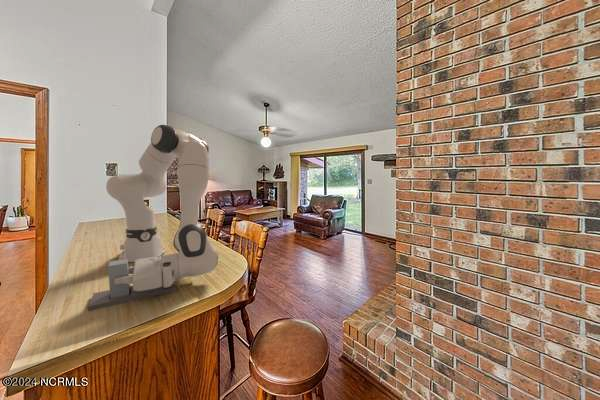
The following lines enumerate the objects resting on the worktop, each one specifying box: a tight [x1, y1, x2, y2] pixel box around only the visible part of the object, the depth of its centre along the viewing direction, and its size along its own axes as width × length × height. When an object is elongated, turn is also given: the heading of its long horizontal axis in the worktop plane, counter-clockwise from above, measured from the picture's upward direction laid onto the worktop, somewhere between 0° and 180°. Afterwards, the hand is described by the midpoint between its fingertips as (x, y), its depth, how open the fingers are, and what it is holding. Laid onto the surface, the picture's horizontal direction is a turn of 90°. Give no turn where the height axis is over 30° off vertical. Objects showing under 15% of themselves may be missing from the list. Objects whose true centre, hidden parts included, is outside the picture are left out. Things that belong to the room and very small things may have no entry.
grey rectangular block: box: [107, 259, 131, 299], centre depth 74 cm, size 4×4×11 cm
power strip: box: [87, 280, 178, 312], centre depth 77 cm, size 9×22×3 cm, turn 123°
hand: (115, 277), depth 73 cm, fingers closed on grey rectangular block, 4 cm apart
